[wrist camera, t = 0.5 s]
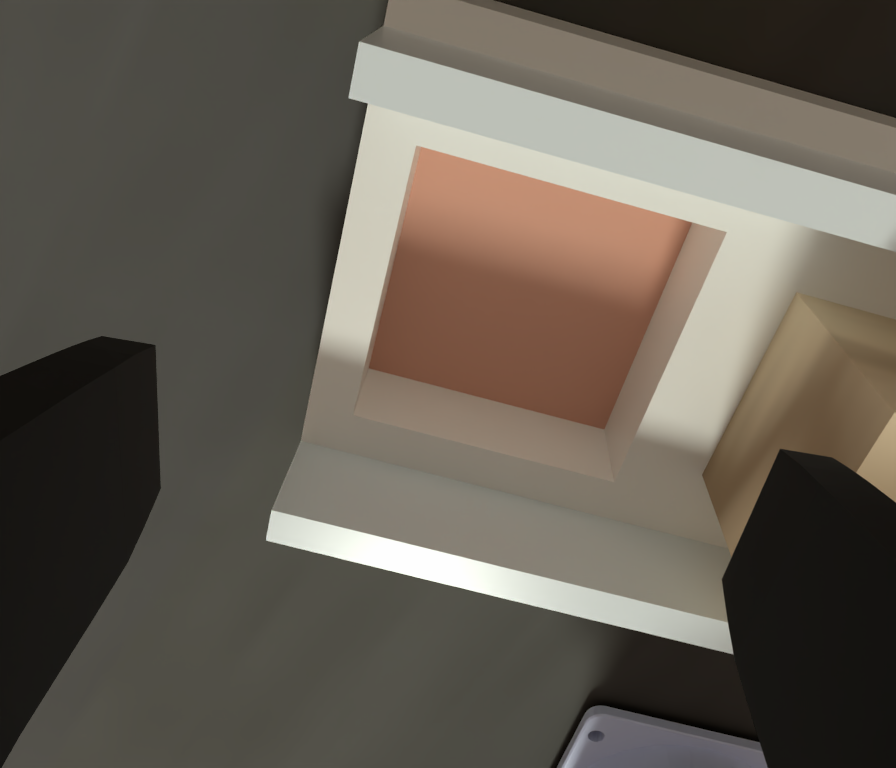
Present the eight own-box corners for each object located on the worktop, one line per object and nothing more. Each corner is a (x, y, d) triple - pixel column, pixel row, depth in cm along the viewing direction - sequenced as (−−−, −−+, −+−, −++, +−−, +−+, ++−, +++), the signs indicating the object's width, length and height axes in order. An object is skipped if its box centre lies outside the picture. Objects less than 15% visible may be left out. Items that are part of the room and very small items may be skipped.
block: (892, 524, 18) (1000, 688, 14) (702, 475, 18) (756, 628, 14) (1011, 351, 16) (1180, 488, 12) (796, 292, 15) (894, 412, 11)
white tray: (1086, 630, 22) (1227, 799, 18) (313, 434, 21) (261, 565, 16) (1419, 271, 17) (1739, 387, 12) (409, -25, 15) (368, -11, 11)
